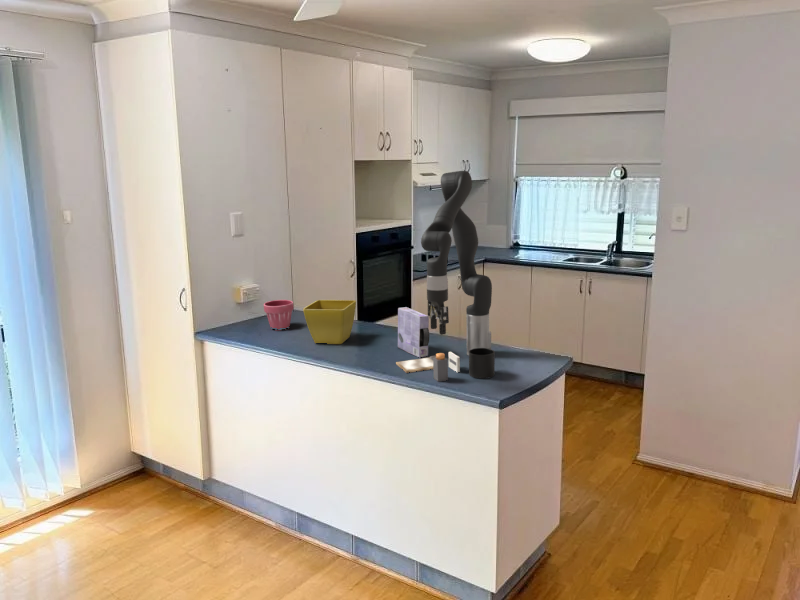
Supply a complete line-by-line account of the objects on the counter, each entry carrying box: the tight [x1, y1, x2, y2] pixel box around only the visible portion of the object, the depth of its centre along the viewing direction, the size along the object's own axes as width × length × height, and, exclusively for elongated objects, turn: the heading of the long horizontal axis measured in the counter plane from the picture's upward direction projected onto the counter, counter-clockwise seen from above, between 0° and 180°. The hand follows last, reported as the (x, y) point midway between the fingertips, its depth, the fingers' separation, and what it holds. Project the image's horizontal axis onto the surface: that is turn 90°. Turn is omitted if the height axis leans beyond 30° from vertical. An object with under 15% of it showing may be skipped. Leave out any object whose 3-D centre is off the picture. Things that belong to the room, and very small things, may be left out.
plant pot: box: [263, 299, 295, 329], centre depth 318 cm, size 14×14×13 cm
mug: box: [468, 348, 496, 380], centre depth 242 cm, size 9×12×9 cm
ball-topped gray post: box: [432, 352, 449, 383], centre depth 237 cm, size 4×4×10 cm
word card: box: [448, 351, 461, 374], centre depth 248 cm, size 1×8×6 cm, turn 19°
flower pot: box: [302, 299, 357, 345], centre depth 292 cm, size 19×19×17 cm
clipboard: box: [395, 355, 436, 374], centre depth 254 cm, size 16×12×2 cm
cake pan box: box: [397, 306, 430, 359], centre depth 271 cm, size 19×5×18 cm, turn 30°
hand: (438, 331), depth 235 cm, fingers open, 8 cm apart
